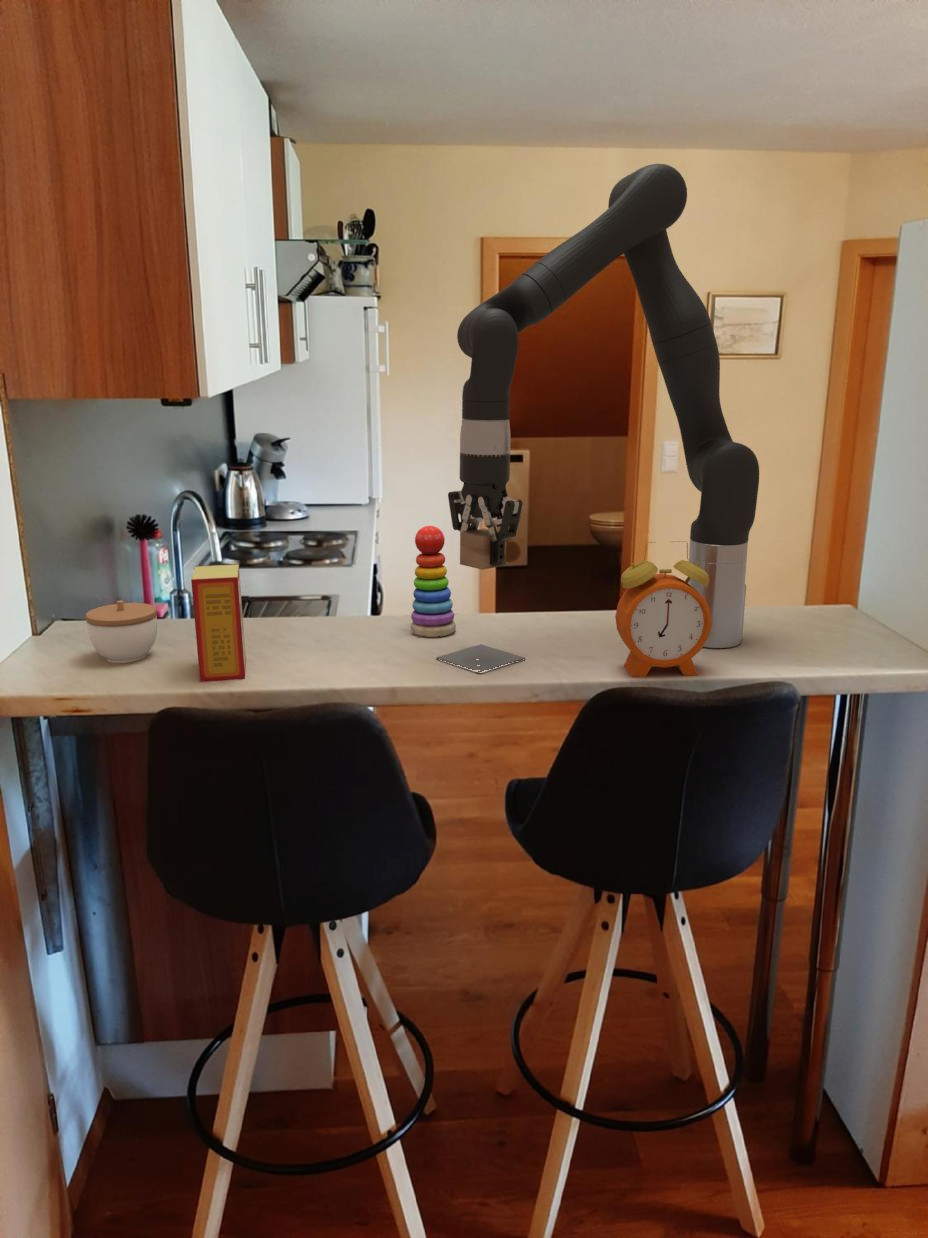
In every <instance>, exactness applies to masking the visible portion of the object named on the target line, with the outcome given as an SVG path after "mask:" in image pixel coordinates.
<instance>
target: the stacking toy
mask: <svg viewBox="0 0 928 1238" xmlns="http://www.w3.org/2000/svg"><path fill="white" fill-rule="evenodd" d="M445 539H446V538H445V534H444V533H443V532H442V530H441V529H440V528H439V527H437V526H435V525H424V526H422V527H421V528H419V530H418V531H417V532H416V534H415V537H414V542H415V543H414V544H415V547H416V548H417V550H418V551H419V552H420V553H419V554H417V556H416V557H415V563H416V564H417V567H415V569H414V575H415V576H416V577H415V578H414V580H413V586H414V587H415V589H414V590H413V598H414V600H413V601H412V609H413V611H412V612H411V616H410V617H411V620H412V622H411V623H410V630H411V632H412V633H414V634H415V635H416V636H421V637H425V636H426V638H437V637H438V636H440V637H444V636H445V637H446V636H449V635H450V634H452V633H453V632H455V631H456V627H457V625H456V622H455V621H454V619H455V613H454V611H453V610H452V609H453V605H454V603H453V601H452V599H451V596H452V592H451V589H450V588H449V587H448V586H449V583H450V582H449V579H448V577H447V576H446V575H447V572H448V570H447V568H446V566H445V565H444V564H445V562H446V557H445V555H444V554H443V553H441V552H442V549H443V548H444V545H445ZM438 638H439V637H438Z"/></svg>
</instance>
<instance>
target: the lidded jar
mask: <svg viewBox="0 0 928 1238" xmlns="http://www.w3.org/2000/svg"><path fill="white" fill-rule="evenodd" d="M157 615H158V610H157V608H156V606H154V605H153V604H148V603H141V602H140V603H139V602H124V600H117V601H116V603H114V604H106V605H102V606H99V607H95V608H93V609H90V610H88V611H87V612H86V613H85V615H84V616H85V621H86V626H87V631H88V635H89V640H90V642H91V644H92V646H93V648H94V649H95V651H96V652H97V654H99V655H101V656H102V657H103V658H105V660H106V661H107V662H109V663H111V664H126V663H134V662H138V661H140V660H143V659H145V657H147V654H148V652H149V651H151V649H152V648H153V646H154V645H155V642H156V640H157V635H158V634H157V633H158V619H157V618H158V617H157Z"/></svg>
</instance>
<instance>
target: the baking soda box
mask: <svg viewBox="0 0 928 1238" xmlns="http://www.w3.org/2000/svg"><path fill="white" fill-rule="evenodd" d="M240 574H241V573H240V564H239V563H237V564H236V563H234V564H217V565H216V564H214V565H213V564H212V565H196V566H194V570H193V574H192V577H191V579H190V581H191V591H192V592H191V593H192V604H193V616H194V628H195V629H194V630H195V638H196V639H195V640H196V651H197V661H198V673H199V682H200V683H206V682H221V681H233V680H234V681H235V680H245V679H246V668H247V667H246V664H247V656H246V643H245V632H244V631H245V630H244V629H245V627H244V615H243V602H242V591H241V590H242V589H241V588H242V587H241V577H240V576H241V575H240Z"/></svg>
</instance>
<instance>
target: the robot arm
mask: <svg viewBox="0 0 928 1238" xmlns="http://www.w3.org/2000/svg"><path fill="white" fill-rule="evenodd" d="M686 183H687V182H686V181H685V179H684V177H683V176H682V174H681V173H680V172H679V171H678V170H677V169H676V168H675V167H673V166H671V165H668V164H665V163H651V164H648V165H645V166H642V167H640V168H639V169H636V170H635V171H633V172H632V173H630V174H628V175H626V176H625V177H623V178H621V179H620V180H618V182H616V184H615V185H614V186H613V188H612V189H611V192H610V194H609V198H608V207H607V209H606V210H605V211H603V213H602V214H600V215H599V216H598V217H597V218H596V219H594V220H593V221H592V222H590V224H588V225H586V226H585V227H584V228H582V229H581V230H580V231H578V232H576V233H575V234H574V235H572V236H570V237H569V238H567V239H566V240H565V241H562V243H560V244H559V245H557V246H556V247H554V248H553V249H551V250H550V251H549V252H548V253H546V254H545V255H543V256H542V257H541V258H539V260H537V261H535V262H534V263H533V264H532V265H531V266H530V267H528V269H526V270H525V271H523V273H522V274H520V275H519V276H518V277H517V278H516V279H514V281H512V282H511V283H510V284H508V285H507V286H506V287H505V288H504V289H502V290H500V291H498V292H497V293H495V294H494V295H493V296H491V297H489V298H488V299H486V300H485V301H483V302H482V303H480V304H479V305H478V306H476V307H475V308H473V309H472V310H471V311H469V312H468V314H467V315H466V316H465V317H463V319H462V320H461V322H460V324H459V326H458V329H457V334H456V335H457V336H456V338H457V344H458V346H459V348H460V351H462V353H464V355H466V356H467V357H469V358H470V359H471V362H470V364H471V365H470V374H469V378H468V379H467V380H466V381H465V382H464V384H463V387H462V396H461V398H462V400H461V402H462V404H461V407H462V409H461V418H462V419H461V426H460V434H459V436H460V437H459V480H460V482H461V483H463V486H462V488H461V490H453V491H449V492H448V494H447V498H448V505H449V512H450V517H451V525H452V529H453V530H454V531H459V533H460V532H465V531H472V530H478V529H479V525H480V523H481V522H482V521H483V522H484V527H486V529H488V530H489V534H490V539H491V542H490V565H492V566H497V565H501V564H502V563H503V561H504V553H505V540H506V541H507V540H509V539H511V538H515V537H516V535H517V531H518V526H519V521H520V518H521V513H522V508H523V501H522V499H513V498H511V497H509V493H508V491H507V484H508V482H509V481H510V480H511V479H510V478H511V477H510V475H511V472H510V471H511V440H512V439H511V438H512V437H511V427H510V425H511V424H510V414H511V413H510V411H511V407H510V406H511V402H510V401H511V395H510V393H511V392H510V391H511V384H512V382H513V381H512V380H513V378H514V371H515V367H516V363H517V357H518V352H519V334H520V333H521V332H522V331H524V330H525V329H527V328H529V327H531V326H534V325H537V324H539V323H541V322H542V321H544V320H546V319H547V318H549V316H550V315H552V314H553V313H554V312H556V311H557V310H558V309H559V308H560V307H561V306H562V305H563V304H565V303H566V302H567V301H568V300H570V299H571V298H572V297H573V296H574V295H576V294H577V293H578V292H579V291H580V290H581V289H582V288H583V287H584V286H586V285H587V284H588V283H590V281H592V280H593V278H595V277H596V276H597V275H598V274H599V273H601V272H602V271H603V270H605V269H606V268H607V267H608V266H609V265H611V264H612V263H613V262H615V261H616V260H618V258H620V257H621V256H622V255H623V256H624V258H625V261H626V263H627V266H628V268H629V271H630V274H631V275H632V278H633V281H634V284H635V288H636V291H637V295H638V298H639V302H640V305H641V307H642V313H643V315H644V319H645V320H646V324H647V328H648V332H649V335H650V339H651V343H652V347H653V350H654V353H655V356H656V360H657V363H658V366H659V370H660V372H661V374H662V377H663V381H664V384H665V386H666V390H667V394H668V396H669V400H670V402H671V405H672V408H673V410H674V413H675V416H676V420H677V423H678V426H679V427H678V428H679V432H680V437H681V443H682V447H683V452H684V457H685V465H686V468H687V473H688V477H689V480H690V481H691V483H692V485H693V486H694V487H695V488H696V489H697V490H698V491H699V492H700V504H699V512H698V516H697V517H696V519H694V520H693V522H691V525H690V533H689V547H688V561H689V560H690V561H689V562H691V563H692V562H693V563H692V564H694V563H695V564H694V565H696V563H697V562H700V565H699V566H698V567H699V568H701V569H702V570H704V571H705V572H706V573H707V574H708V576H709V583H708V586H707V587H706V586H704V585H702V584H700V583H698V582H696V581H695V580H693V579H690V580H689V582H688V584H689V585H691V586H692V587H693V588H694V589H696V590H697V591H698V592H699V593H700V594H701V595H702V596H703V598H704V599H705V600H706V603H707V605H708V607H709V609H710V614H711V628H710V633H709V637H708V639H707V641H706V642H705V644H704V646H703V648H710V649H724V648H726V649H727V648H733V647H736V646H739V644H740V643H741V640H742V639H743V634H744V633H743V632H744V622H745V608H746V607H745V606H746V595H747V584H746V574H747V560H748V559H747V557H748V549H749V548H748V547H749V545H748V544H749V536H750V531H751V529H752V527H753V525H754V522H755V519H756V511H757V502H758V495H759V486H760V485H759V484H760V464H759V460H758V458H757V456H756V454H755V452H754V451H753V450H752V449H751V448H750V447H748V446H747V445H744V444H743V443H739V442H736V441H734V440H733V439H732V436H731V434H730V431H729V429H728V425H727V423H726V420H725V417H724V413H723V411H722V406H721V405H722V404H721V397H720V385H721V384H720V380H721V379H720V378H721V375H720V373H721V364H720V363H721V360H720V351H719V347H718V342H717V339H716V334H715V332H714V328H713V325H712V321H711V318H710V315H709V312H708V310H707V308H706V306H705V304H704V302H703V301H702V299H701V298H700V296H699V295H698V293H697V292H696V290H695V289H694V288H693V286H692V285H691V284H690V282H689V281H688V279H687V278H686V276H685V275H684V274H683V272H682V271H681V269H680V267H679V265H678V263H677V261H676V259H675V256H674V254H673V251H672V250H673V249H672V246H671V242H670V240H669V235H668V231H667V229H669V228H670V227H672V226H673V225H674V224H675V223H676V222H677V221H678V220H679V219H680V217H681V216H682V214H683V212H684V210H685V208H686V205H687V199H688V188H687V185H686ZM459 515H460V517H459ZM497 531H498V533H497Z"/></svg>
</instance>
